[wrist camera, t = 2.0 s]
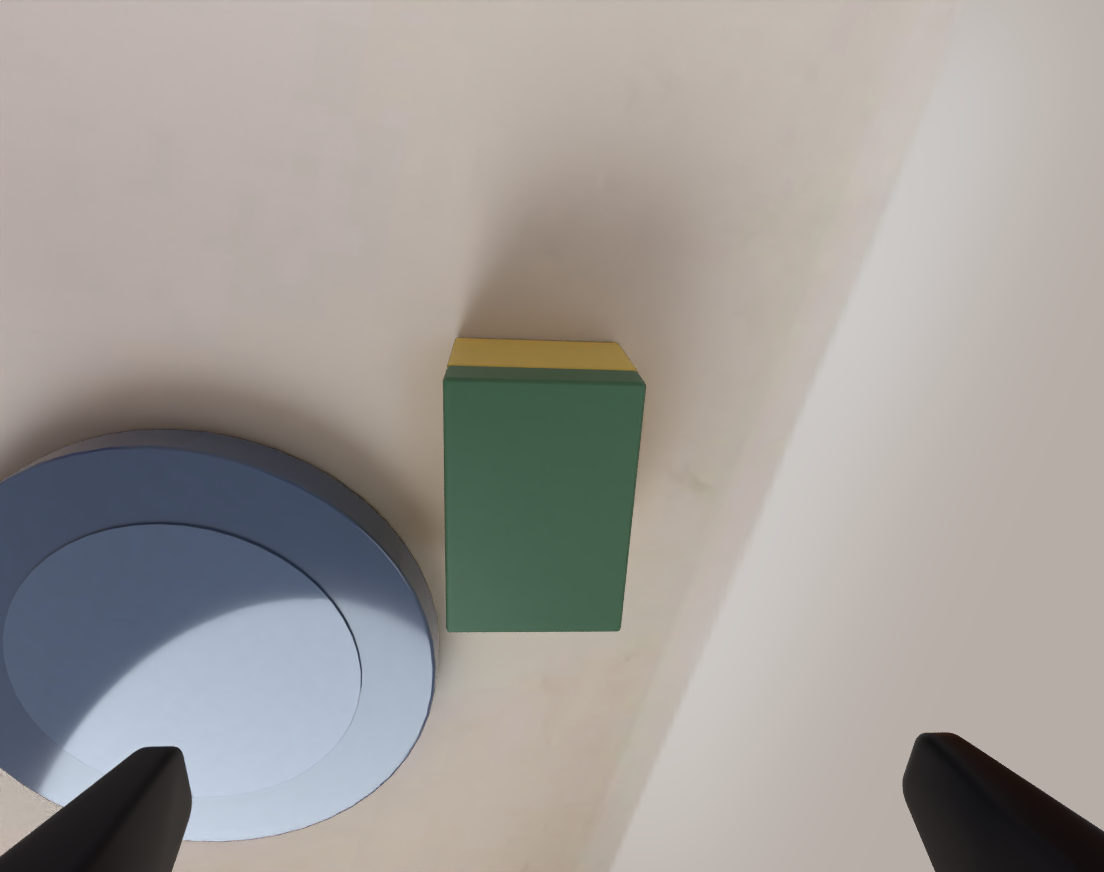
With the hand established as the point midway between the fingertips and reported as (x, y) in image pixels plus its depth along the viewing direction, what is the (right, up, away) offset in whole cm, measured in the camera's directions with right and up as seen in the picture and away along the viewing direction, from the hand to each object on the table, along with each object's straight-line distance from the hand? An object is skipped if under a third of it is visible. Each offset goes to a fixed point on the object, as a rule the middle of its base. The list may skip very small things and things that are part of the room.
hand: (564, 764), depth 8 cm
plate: (-10, -2, +10) cm, 15 cm away
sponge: (-1, +4, +9) cm, 10 cm away
